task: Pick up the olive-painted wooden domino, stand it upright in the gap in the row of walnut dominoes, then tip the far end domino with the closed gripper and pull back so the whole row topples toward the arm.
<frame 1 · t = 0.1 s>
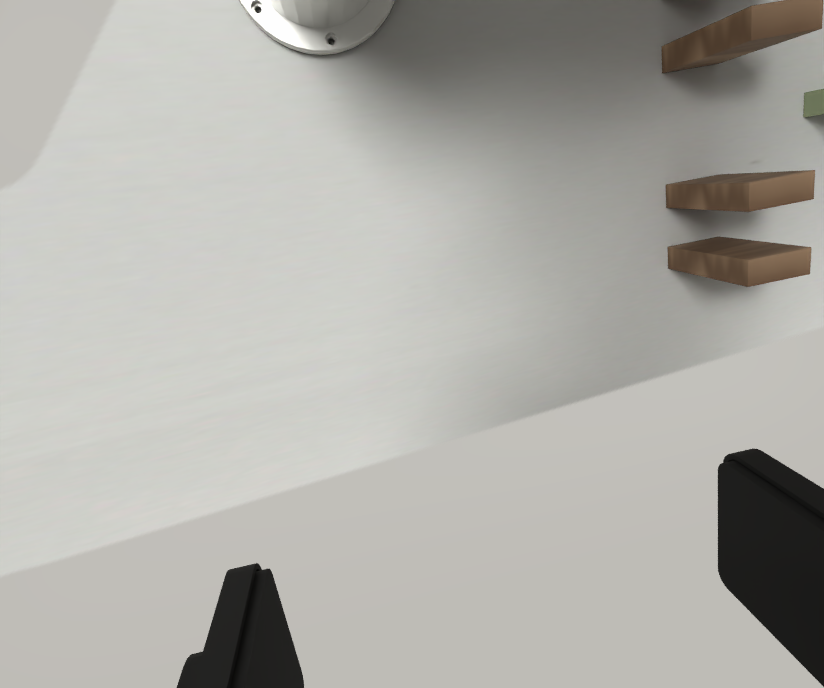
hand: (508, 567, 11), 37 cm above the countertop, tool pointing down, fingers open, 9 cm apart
domino 1: (693, 252, 49), on the countertop
domino 2: (692, 191, 47), on the countertop
domino 4: (690, 55, 44), on the countertop
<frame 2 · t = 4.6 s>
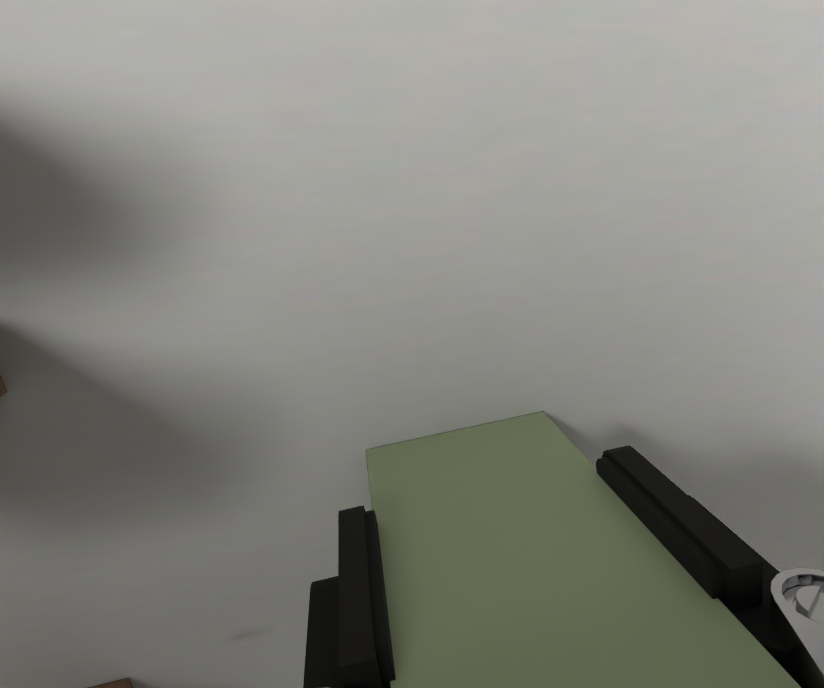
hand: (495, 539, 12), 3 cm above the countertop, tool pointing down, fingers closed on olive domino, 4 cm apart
olive domino: (460, 462, 15), on the countertop, touching gripper
when the fingers open (4 cm above the countertop, at t = 10.9 s): olive domino stays where it is, on the countertop.
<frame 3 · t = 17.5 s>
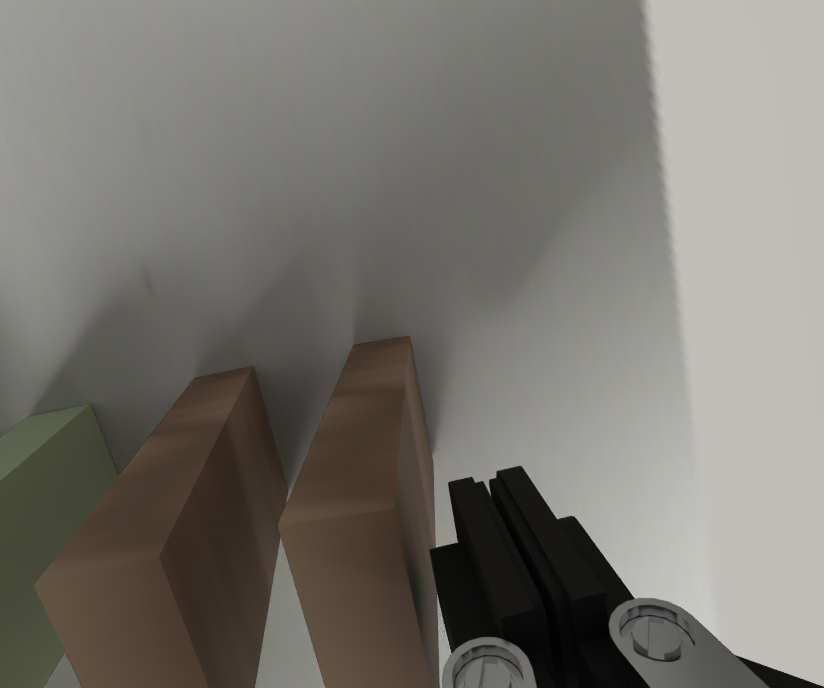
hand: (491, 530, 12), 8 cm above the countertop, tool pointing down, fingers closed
domino 1: (394, 406, 19), on the countertop, tilted 9°
domino 2: (243, 437, 19), on the countertop
olive domino: (86, 474, 19), on the countertop
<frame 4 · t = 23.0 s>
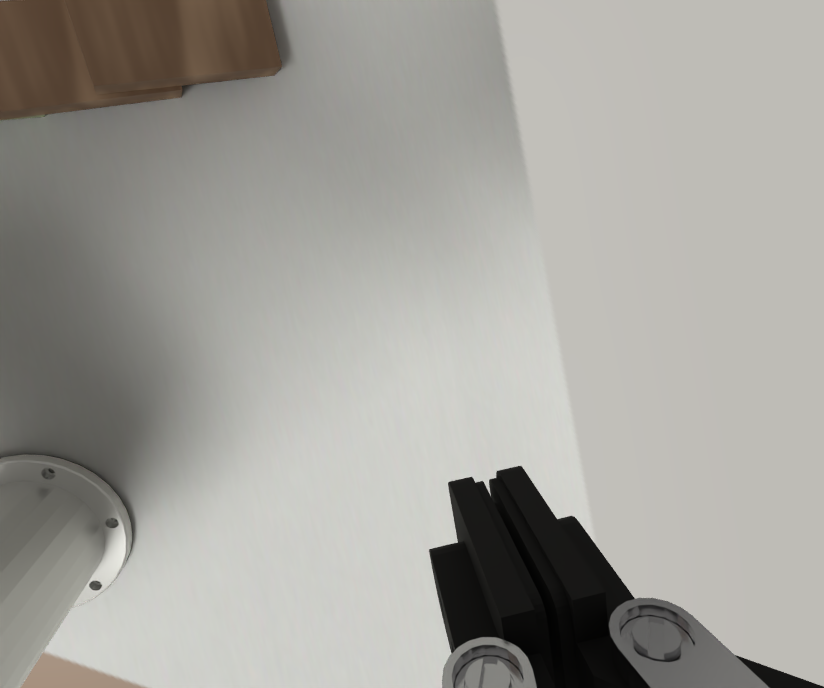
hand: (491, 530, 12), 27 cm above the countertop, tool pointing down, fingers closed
domino 1: (266, 25, 31), point 1 cm above the countertop, tilted 70°, touching domino 2
domino 2: (168, 47, 31), point 1 cm above the countertop, tilted 72°, touching domino 1
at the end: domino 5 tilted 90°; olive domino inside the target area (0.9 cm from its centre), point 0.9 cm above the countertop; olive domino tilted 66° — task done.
